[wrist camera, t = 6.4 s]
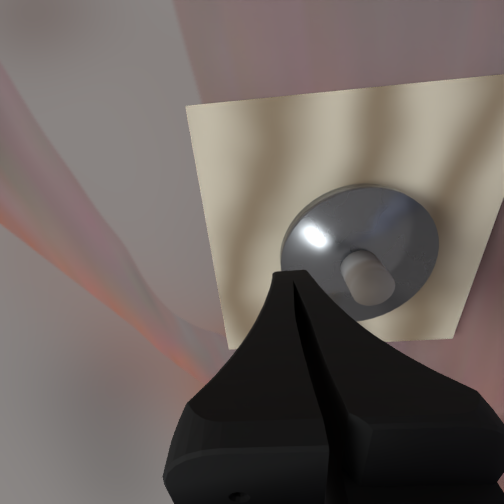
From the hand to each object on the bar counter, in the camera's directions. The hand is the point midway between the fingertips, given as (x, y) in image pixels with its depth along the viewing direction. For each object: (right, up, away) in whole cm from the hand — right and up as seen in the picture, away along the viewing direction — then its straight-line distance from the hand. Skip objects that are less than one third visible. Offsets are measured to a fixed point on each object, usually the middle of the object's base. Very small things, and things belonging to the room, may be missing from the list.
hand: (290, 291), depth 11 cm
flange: (+5, 0, +9) cm, 10 cm away
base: (+5, +2, +10) cm, 11 cm away
